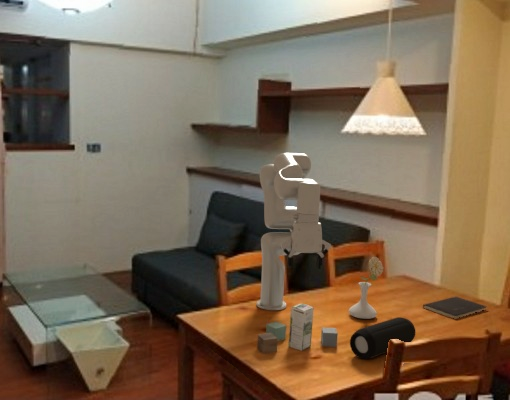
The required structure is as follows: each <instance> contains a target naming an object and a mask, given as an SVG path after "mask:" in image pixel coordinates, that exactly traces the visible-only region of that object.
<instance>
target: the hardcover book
mask: <svg viewBox="0 0 510 400" xmlns="http://www.w3.org/2000/svg"><path fill="white" fill-rule="evenodd" d="M486 308H488V306H487V305H484V304H480V303H477V302H474V301H471V300H468V299H465V298H462V297H459V296H452V297H449V298H444V299H440V300H436V301H433V302H432V301H431V302H427V303H424V304H423V305H422V309H425V310H428V311H432V312H434V313H437V314H440V315H443V316H445V317H448V318H451V319H453V318H454V320H457V319H460V318H463V316H464V317H467V316H470V315H469V314H471V315H473V314H472V313H474V314H476V313H475V312H477V313H480V312H479V311H481V312H483V311H482V310H484V309H486ZM486 310H487V309H486ZM484 311H485V310H484ZM466 315H467V316H466ZM459 317H460V318H459Z"/></svg>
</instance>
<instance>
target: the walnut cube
mask: <svg viewBox="0 0 510 400" xmlns="http://www.w3.org/2000/svg"><path fill="white" fill-rule="evenodd" d="M277 339H278V338H277V337H276V336H274V335H273V334H272V333H266V332H265V333H259V334H257V344H256V345H257V346H256V349H257V350H258V351H260V352H261V353H262V354H263V355H266V354H272V353H277V352H278V341H277Z"/></svg>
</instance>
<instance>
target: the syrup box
mask: <svg viewBox="0 0 510 400" xmlns="http://www.w3.org/2000/svg"><path fill="white" fill-rule="evenodd" d="M289 322H290V323H289V334H288V347H289V348H292V349H295V350H298V351H304V350H306V349H309V348H310V347H311V346H312V336H313V335H312V334H313V333H312V332H313V323H314V307H313V306H311V305H309V304H305V303H297V304H296V305H293V306H291V307H290V320H289Z"/></svg>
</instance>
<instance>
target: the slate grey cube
mask: <svg viewBox="0 0 510 400" xmlns="http://www.w3.org/2000/svg"><path fill="white" fill-rule="evenodd" d="M320 342H321V346H322V347H331V348H337V347H338V331H337V328H336V327H321V335H320Z"/></svg>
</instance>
